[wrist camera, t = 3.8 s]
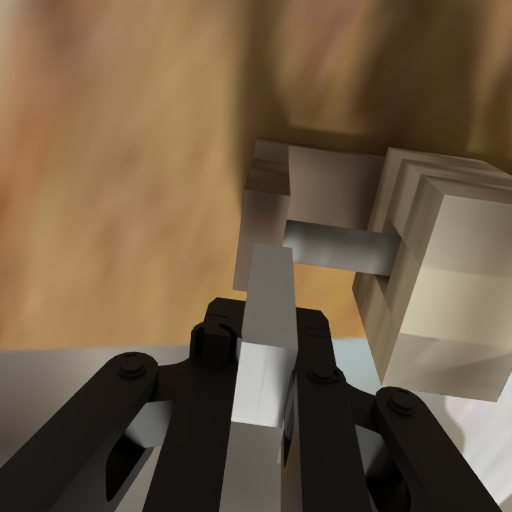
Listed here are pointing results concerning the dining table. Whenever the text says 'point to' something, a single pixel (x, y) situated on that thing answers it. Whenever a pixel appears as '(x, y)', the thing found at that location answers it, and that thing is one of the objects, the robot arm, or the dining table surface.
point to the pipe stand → (313, 209)
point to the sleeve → (442, 277)
